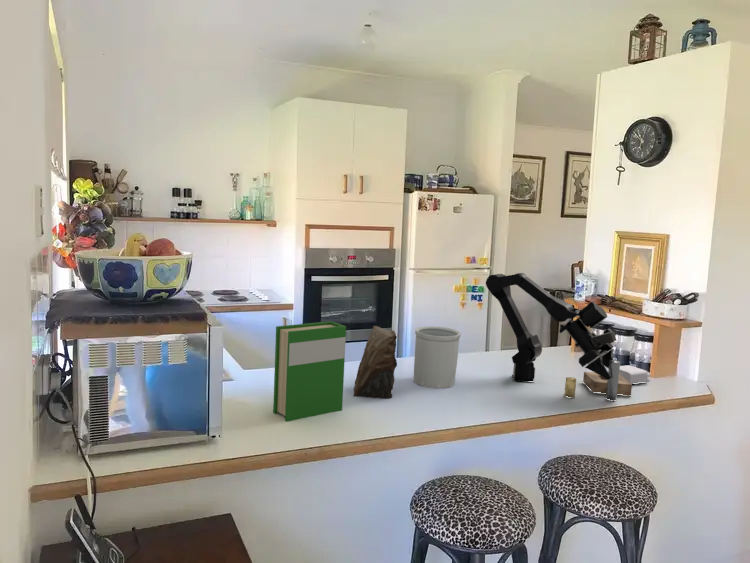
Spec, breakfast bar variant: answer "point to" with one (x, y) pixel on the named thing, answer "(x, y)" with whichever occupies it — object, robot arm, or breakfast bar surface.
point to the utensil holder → (436, 356)
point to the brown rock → (377, 365)
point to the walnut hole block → (605, 383)
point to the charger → (633, 374)
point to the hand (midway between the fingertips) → (613, 375)
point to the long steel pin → (613, 379)
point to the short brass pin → (570, 387)
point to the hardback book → (309, 369)
